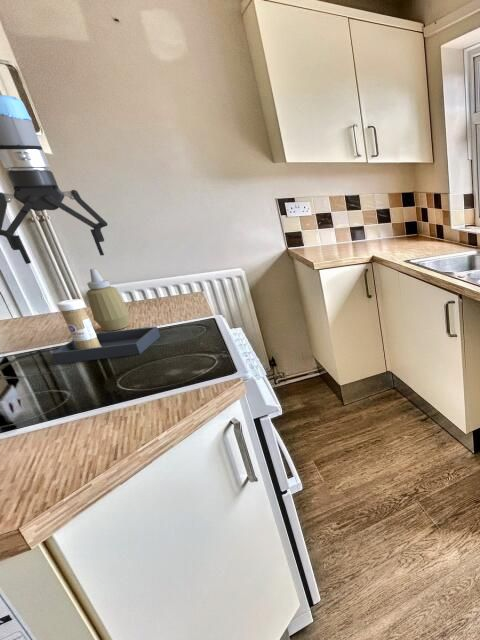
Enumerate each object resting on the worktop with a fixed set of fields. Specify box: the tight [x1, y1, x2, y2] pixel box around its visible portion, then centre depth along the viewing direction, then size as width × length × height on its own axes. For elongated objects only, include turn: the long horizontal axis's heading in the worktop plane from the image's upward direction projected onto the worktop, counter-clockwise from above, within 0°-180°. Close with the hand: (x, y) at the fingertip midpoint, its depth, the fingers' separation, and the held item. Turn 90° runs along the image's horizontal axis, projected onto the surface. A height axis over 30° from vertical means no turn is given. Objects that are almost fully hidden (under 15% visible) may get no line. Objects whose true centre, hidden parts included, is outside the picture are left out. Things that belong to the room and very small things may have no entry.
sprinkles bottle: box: [56, 298, 101, 350], centre depth 108 cm, size 5×5×14 cm
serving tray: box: [50, 326, 161, 365], centre depth 111 cm, size 17×13×3 cm
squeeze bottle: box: [86, 268, 131, 332], centre depth 124 cm, size 8×8×18 cm
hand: (66, 258), depth 108 cm, fingers open, 13 cm apart
